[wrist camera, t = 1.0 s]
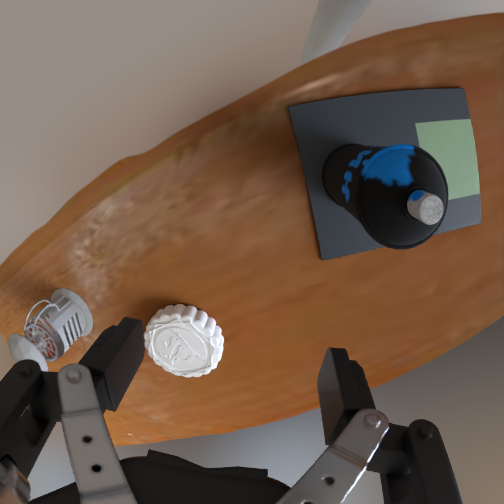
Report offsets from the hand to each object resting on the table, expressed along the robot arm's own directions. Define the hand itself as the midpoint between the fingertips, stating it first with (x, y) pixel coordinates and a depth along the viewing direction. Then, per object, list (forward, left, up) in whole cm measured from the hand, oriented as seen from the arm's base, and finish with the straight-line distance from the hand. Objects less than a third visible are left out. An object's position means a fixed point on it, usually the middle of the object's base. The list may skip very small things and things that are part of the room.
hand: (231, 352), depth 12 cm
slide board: (-2, +20, -27) cm, 34 cm away
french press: (+8, -35, -28) cm, 46 cm away
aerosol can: (-2, +13, -27) cm, 30 cm away
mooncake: (+16, -15, -28) cm, 35 cm away
